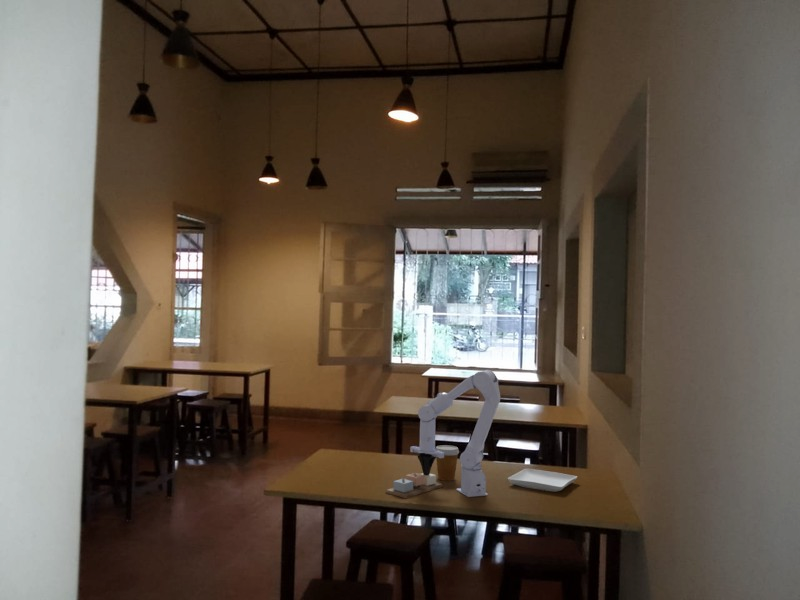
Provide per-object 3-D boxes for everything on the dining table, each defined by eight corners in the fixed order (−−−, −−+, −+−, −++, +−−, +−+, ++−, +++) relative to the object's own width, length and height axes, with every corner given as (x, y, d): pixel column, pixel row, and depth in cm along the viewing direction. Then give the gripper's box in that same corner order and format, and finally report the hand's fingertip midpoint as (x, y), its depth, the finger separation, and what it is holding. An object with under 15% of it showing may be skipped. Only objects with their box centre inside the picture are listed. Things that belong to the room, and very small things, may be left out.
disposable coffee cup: (449, 483, 238) (450, 451, 238) (429, 478, 244) (429, 447, 244) (463, 478, 246) (463, 447, 246) (442, 474, 251) (443, 444, 252)
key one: (425, 480, 236) (425, 471, 236) (435, 483, 233) (435, 474, 233) (416, 482, 233) (416, 474, 233) (427, 485, 229) (427, 476, 229)
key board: (423, 482, 239) (423, 473, 239) (442, 486, 233) (442, 478, 233) (386, 492, 223) (386, 483, 223) (405, 498, 217) (405, 488, 217)
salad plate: (525, 475, 255) (525, 467, 255) (578, 484, 244) (578, 475, 244) (506, 487, 236) (506, 477, 236) (562, 496, 225) (562, 487, 226)
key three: (402, 486, 226) (402, 478, 227) (413, 489, 223) (413, 480, 223) (393, 489, 223) (393, 480, 223) (404, 492, 219) (404, 483, 220)
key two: (414, 480, 231) (414, 472, 232) (424, 483, 228) (425, 474, 228) (405, 483, 228) (405, 474, 228) (416, 486, 224) (416, 477, 224)
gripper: (405, 436, 235) (404, 472, 235) (436, 441, 225) (435, 480, 225) (417, 433, 240) (416, 469, 240) (448, 439, 231) (447, 476, 230)
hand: (426, 474), depth 233 cm, fingers closed, pressing on key one
